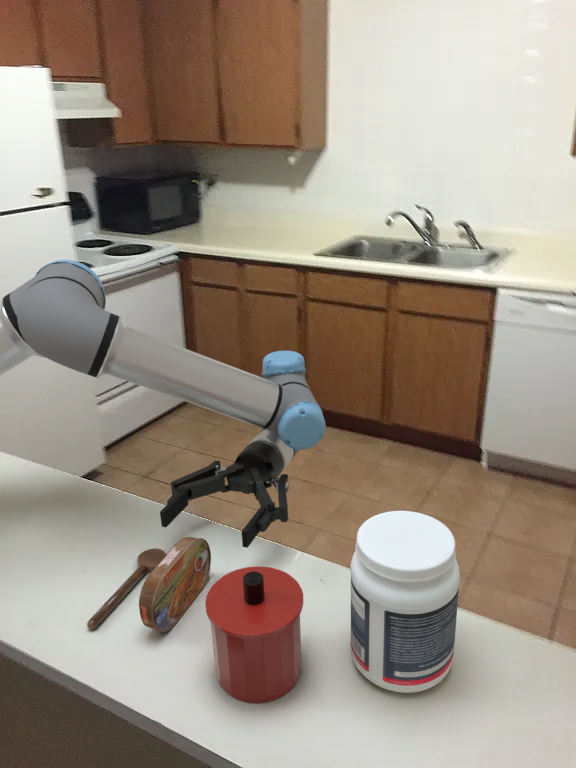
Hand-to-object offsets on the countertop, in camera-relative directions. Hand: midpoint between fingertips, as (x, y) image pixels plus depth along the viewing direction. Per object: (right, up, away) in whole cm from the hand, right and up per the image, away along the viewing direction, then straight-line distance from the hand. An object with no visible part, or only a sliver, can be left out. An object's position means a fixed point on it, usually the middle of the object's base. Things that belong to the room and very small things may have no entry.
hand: (202, 529), depth 97 cm
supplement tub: (+27, -14, -13) cm, 32 cm away
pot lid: (+8, -5, -18) cm, 20 cm away
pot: (+9, -14, -14) cm, 22 cm away
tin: (-3, -10, -3) cm, 11 cm away
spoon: (-11, -9, +1) cm, 14 cm away
